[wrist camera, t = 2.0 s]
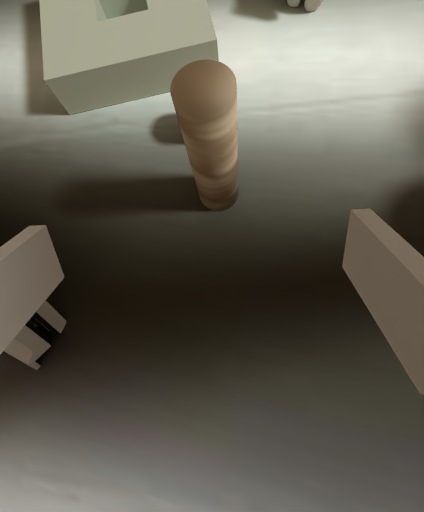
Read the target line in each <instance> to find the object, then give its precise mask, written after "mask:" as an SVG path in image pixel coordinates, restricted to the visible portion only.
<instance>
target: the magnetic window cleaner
mask: <svg viewBox="0 0 424 512" xmlns="http://www.w3.org/2000/svg"><path fill="white" fill-rule="evenodd" d="M65 324H66V320H65V319H64V318H63V317H62V316H61V315H60V314H59V313H58V312H57V311H56V310H55V309H54V308H53V307H52V306H51V305H50V304H49V303H48V302H47V301H46V300H45V301H44V303H43V304H42V305H41V306H40V307H39V309H38V310H37V311H36V312H35V313H34V315H33V316H32V317H31V318H30V320H29V321H28V322H27V323H26V324H25V326H24V327H23V328H22V329H21V330H20V332H19V333H18V334H17V335H16V336H15V338H14V339H13V340H12V341H11V342H10V344H9V345H8V346H7V347H6V348H5V350H4V352H6V353H8V354H9V355H11V356H13V357H14V358H16V359H18V360H20V361H21V362H23V363H25V364H27V365H28V366H30V367H32V368H34V369H35V370H38V369H39V367H40V366H41V365H39V364H38V363H36V362H35V361H36V360H37V359H38V358H39V357H40V356H41V355H42V354H43V353H44V352H45V351H46V350H47V349H48V348H49V347H50V346H51V345H50V344H48V342H49V341H50V340H51V339H50V338H49V337H47V336H46V335H45V334H44V333H43V332H41V331H40V330H39V329H38V328H36V327H38V326H39V327H41V328H42V329H44V330H46V331H48V332H50V333H52V334H53V335H55V333H56V332H59V333H61V332H62V331H63V329H64V327H65Z"/></svg>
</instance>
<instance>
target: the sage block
mask: <svg viewBox="0 0 424 512" xmlns="http://www.w3.org/2000/svg"><path fill="white" fill-rule="evenodd" d="M39 2H40V20H41V39H42V57H43V75H44V81H45V83H46V84H47V85H48V87H49V88H50V89H51V91H52V92H53V93H54V95H55V96H56V97H57V99H58V100H59V101H60V103H61V104H62V105H63V107H64V108H65V109H66V111H67V112H68V113H69V115H71V114H76V113H80V112H84V111H89V110H93V109H97V108H101V107H106V106H110V105H114V104H119V103H123V102H127V101H132V100H136V99H140V98H145V97H149V96H153V95H158V94H162V93H166V92H170V86H171V82H172V80H173V78H174V76H175V74H176V73H177V72H178V71H179V70H180V69H181V68H182V67H184V66H185V65H187V64H189V63H191V62H194V61H198V60H215V61H218V48H217V38H216V34H215V31H214V27H213V23H212V19H211V16H210V12H209V8H208V4H207V0H39ZM218 62H219V61H218Z"/></svg>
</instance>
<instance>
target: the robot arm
mask: <svg viewBox="0 0 424 512" xmlns="http://www.w3.org/2000/svg"><path fill="white" fill-rule="evenodd" d="M342 267H343V269H344V271H345V272H346V274H347V276H348V277H349V279H350V280H351V282H352V284H353V285H354V287H355V289H356V290H357V292H358V294H359V295H360V297H361V298H362V300H363V302H364V303H365V305H366V307H367V308H368V310H369V311H370V313H371V315H372V316H373V318H374V320H375V321H376V323H377V324H378V326H379V328H380V329H381V331H382V333H383V334H384V336H385V338H386V339H387V341H388V342H389V344H390V346H391V347H392V349H393V351H394V352H395V354H396V355H397V357H398V359H399V360H400V362H401V364H402V365H403V367H404V368H405V370H406V372H407V373H408V375H409V377H410V378H411V380H412V381H413V383H414V385H415V386H416V388H417V390H418V391H419V393H420V394H424V257H423V256H422V255H421V254H420V253H419V252H418V251H417V250H415V249H414V248H413V247H412V246H411V245H410V244H409V243H408V242H407V241H405V240H404V239H403V238H402V237H401V236H400V235H399V234H398V233H397V232H395V231H394V230H393V229H392V228H391V227H390V226H389V225H388V224H387V223H385V222H384V221H383V220H382V219H381V218H380V217H379V216H378V215H377V214H375V213H374V212H373V211H372V210H371V209H352V210H351V211H350V218H349V225H348V231H347V238H346V244H345V251H344V257H343V264H342ZM63 278H64V274H63V272H62V269H61V266H60V263H59V260H58V258H57V255H56V252H55V249H54V247H53V244H52V241H51V238H50V235H49V233H48V230H47V227H46V225H37V226H28V227H27V228H26V229H24V230H23V231H22V232H20V233H19V234H18V235H16V236H15V237H13V238H12V239H11V240H9V241H8V242H7V243H5V244H4V245H3V246H1V247H0V355H1V353H2V352H3V351H4V350H5V348H6V347H7V346H8V345H9V344H10V342H11V341H12V340H13V339H14V338H15V336H16V335H17V334H18V333H19V332H20V330H21V329H22V328H23V327H24V326H25V324H26V323H27V322H28V321H29V320H30V318H31V317H32V316H33V315H34V313H35V312H36V311H37V310H38V309H39V307H40V306H41V305H42V304H43V303H44V301H45V300H46V299H47V298H48V297H49V295H50V294H51V293H52V292H53V291H54V289H55V288H56V287H57V286H58V284H59V283H60V282H61V281H62V280H63Z"/></svg>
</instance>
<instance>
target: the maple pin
mask: <svg viewBox="0 0 424 512" xmlns="http://www.w3.org/2000/svg"><path fill="white" fill-rule="evenodd" d="M170 92H171V96H172V100H173V104H174V107H175V111H176V114H177V118H178V121H179V125H180V129H181V132H182V136H183V139H184V143H185V146H186V150H187V154H188V157H189V161H190V164H191V168H192V171H193V175H194V179H195V182H196V186H197V189H198V193H199V196H200V200H201V202H202V203H203V205H204V206H205V207H207V208H208V209H210V210H213V211H223V210H226V209H228V208H230V207H231V206H232V205H233V204H234V203H235V202H236V200H237V197H238V154H237V92H236V78H235V75H234V74H233V72H232V71H231V69H230V68H229V67H228V66H226V65H225V64H223V63H221V62H218V61H215V60H198V61H194V62H191V63H189V64H187V65H185V66H184V67H182V68H181V69H180V70H179V71H178V72H177V73H176V74H175V76H174V78H173V80H172V82H171V86H170Z"/></svg>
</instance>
